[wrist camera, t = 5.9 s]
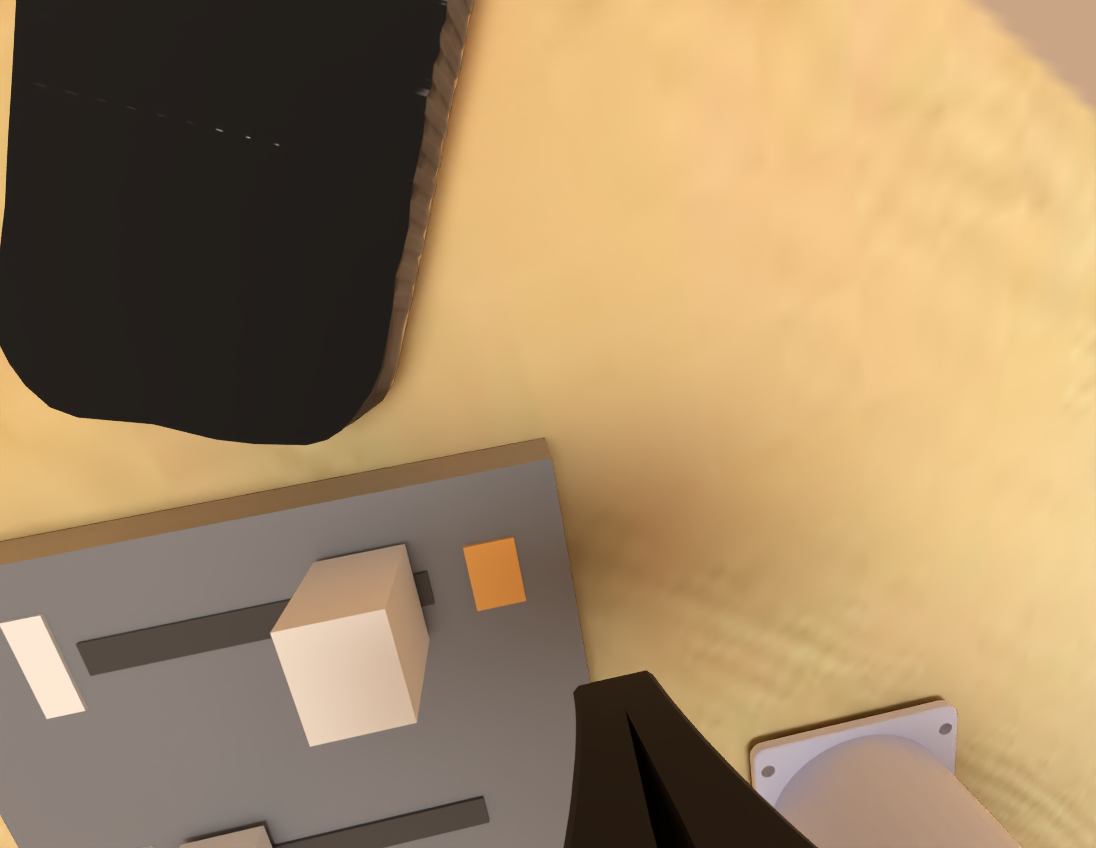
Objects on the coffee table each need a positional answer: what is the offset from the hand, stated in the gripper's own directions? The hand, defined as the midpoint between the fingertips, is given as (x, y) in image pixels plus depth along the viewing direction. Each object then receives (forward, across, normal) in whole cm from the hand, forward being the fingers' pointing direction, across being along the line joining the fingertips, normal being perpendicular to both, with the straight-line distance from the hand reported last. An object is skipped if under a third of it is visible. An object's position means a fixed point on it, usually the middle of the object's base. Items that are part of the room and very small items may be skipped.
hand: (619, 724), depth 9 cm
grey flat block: (+8, +8, +4) cm, 12 cm away
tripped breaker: (+6, +5, 0) cm, 8 cm away
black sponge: (+9, +5, -13) cm, 16 cm away
